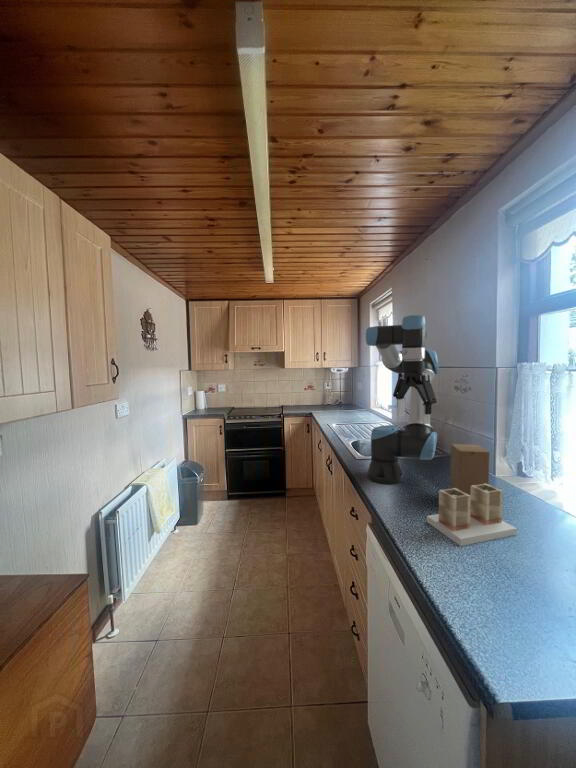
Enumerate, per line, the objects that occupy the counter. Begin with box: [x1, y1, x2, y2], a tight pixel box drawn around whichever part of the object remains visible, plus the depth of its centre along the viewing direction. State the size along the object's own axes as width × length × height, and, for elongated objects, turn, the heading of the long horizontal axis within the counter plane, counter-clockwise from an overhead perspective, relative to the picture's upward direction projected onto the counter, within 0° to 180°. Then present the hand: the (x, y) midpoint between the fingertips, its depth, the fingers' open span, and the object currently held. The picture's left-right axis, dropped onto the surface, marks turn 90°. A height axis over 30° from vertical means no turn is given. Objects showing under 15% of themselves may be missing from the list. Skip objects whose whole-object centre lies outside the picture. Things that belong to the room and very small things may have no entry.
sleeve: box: [438, 488, 471, 531], centre depth 96 cm, size 6×6×10 cm
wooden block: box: [449, 443, 490, 496], centre depth 116 cm, size 10×10×20 cm
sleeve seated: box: [470, 484, 504, 525], centre depth 99 cm, size 6×6×10 cm
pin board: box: [426, 490, 518, 547], centre depth 97 cm, size 14×20×11 cm
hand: (412, 419), depth 112 cm, fingers open, 13 cm apart
